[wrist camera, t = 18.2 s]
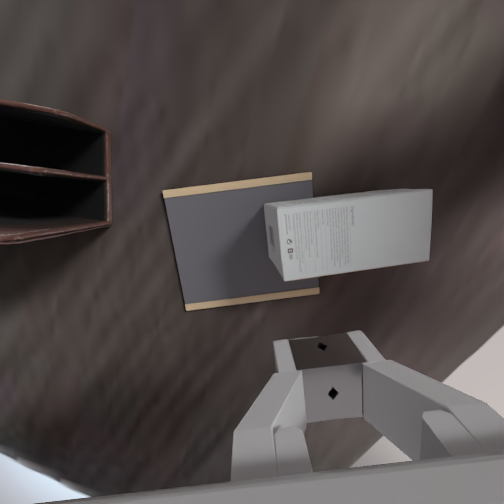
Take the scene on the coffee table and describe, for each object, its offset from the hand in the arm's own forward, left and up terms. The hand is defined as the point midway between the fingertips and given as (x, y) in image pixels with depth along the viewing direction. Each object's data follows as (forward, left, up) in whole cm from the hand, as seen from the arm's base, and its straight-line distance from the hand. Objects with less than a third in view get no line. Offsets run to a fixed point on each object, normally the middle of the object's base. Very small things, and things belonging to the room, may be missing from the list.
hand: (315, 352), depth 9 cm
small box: (0, -1, -16) cm, 16 cm away
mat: (+2, 0, -21) cm, 21 cm away
